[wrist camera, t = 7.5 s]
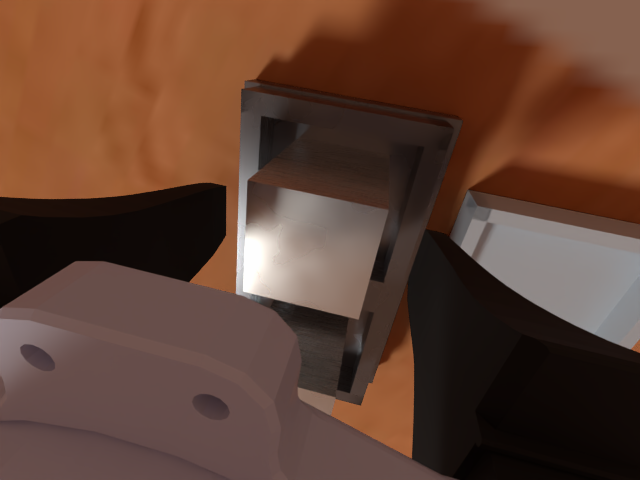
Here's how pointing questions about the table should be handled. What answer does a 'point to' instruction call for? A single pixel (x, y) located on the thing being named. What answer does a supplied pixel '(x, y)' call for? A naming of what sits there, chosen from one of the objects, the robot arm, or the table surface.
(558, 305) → the grey square tray
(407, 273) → the metal divided rack
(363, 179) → the loose billet
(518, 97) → the table surface
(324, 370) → the seated billet
